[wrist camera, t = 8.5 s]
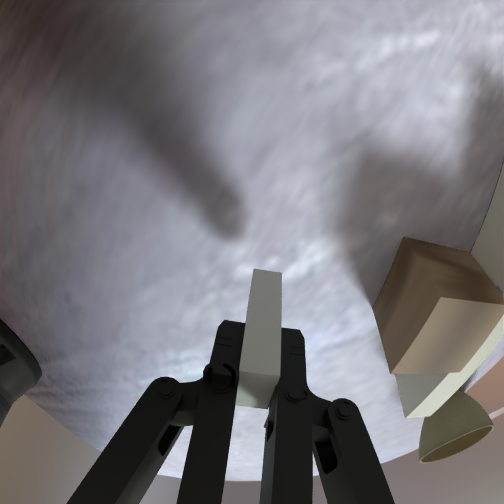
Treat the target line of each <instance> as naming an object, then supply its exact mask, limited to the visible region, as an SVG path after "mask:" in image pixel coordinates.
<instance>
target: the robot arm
mask: <svg viewBox="0 0 504 504" xmlns="http://www.w3.org/2000/svg"><path fill="white" fill-rule="evenodd" d="M281 310H282V273H280V272H273V271H266V270H260V269H254V270H253V276H252V283H251V289H250V295H249V302H248V308H247V315H246V322H245V323H241V322H235V321H228V320H224V321H223V322H222V323H221V324H220V325H219V327H218V330H217V334H216V338H215V342H214V346H213V351H212V355H211V359H210V363H209V364H208V365H206V367H205V369H204V370H203V377H202V378H201V379H199V380H197V381H194V382H186V383H179V382H178V381H177V380H175V379H174V378H170V377H160V378H157V379H155V380H154V381H153V382H152V383H151V384H150V385H149V387H148V388H147V389H146V391H145V392H144V394H143V395H142V396H141V398H140V399H139V401H138V402H137V403H136V405H135V406H134V408H133V409H132V411H131V412H130V413H129V415H128V416H127V418H126V419H125V420H124V422H123V423H122V425H121V426H120V428H119V429H118V430H117V432H116V433H115V435H114V436H113V438H112V439H111V440H110V442H109V443H108V445H107V446H106V448H105V449H104V450H103V452H102V453H101V455H100V456H99V458H98V459H97V461H96V462H95V463H94V465H93V466H92V468H91V469H90V471H89V472H88V473H87V475H86V476H85V478H84V479H83V480H82V482H81V483H80V485H79V486H78V488H77V489H76V491H75V492H74V493H73V495H72V496H71V498H70V499H69V501H68V502H67V504H139V503H140V501H141V500H142V498H143V496H144V494H145V493H146V491H147V489H148V488H149V486H150V485H151V483H152V481H153V480H154V478H155V476H156V475H157V473H158V471H159V469H160V468H161V466H162V464H163V463H164V461H165V459H166V458H167V456H168V454H169V452H170V451H171V449H172V447H173V445H174V444H175V442H176V440H177V439H178V437H179V435H180V433H181V432H182V430H183V428H184V426H191V425H193V430H192V434H191V439H190V443H189V448H188V452H187V457H186V461H185V466H184V471H183V475H182V481H181V485H180V490H179V494H178V499H177V504H221V501H222V494H223V488H224V481H225V474H226V467H227V460H228V453H229V446H230V439H231V432H232V425H233V418H234V411H235V405H238V406H246V407H253V408H262V409H268V407H269V415H268V417H267V420H266V422H265V425H264V428H266V433H265V446H264V458H263V470H262V482H261V493H260V504H312V489H313V479H312V478H313V454H314V458H315V461H316V465H317V468H318V472H319V475H320V478H321V482H322V485H323V489H324V492H325V496H326V499H327V503H328V504H395V503H394V500H393V497H392V495H391V492H390V489H389V486H388V484H387V481H386V478H385V475H384V473H383V470H382V468H381V465H380V462H379V460H378V457H377V454H376V452H375V449H374V447H373V444H372V441H371V439H370V436H369V434H368V431H367V429H366V426H365V424H364V421H363V419H362V416H361V414H360V411H359V409H358V407H357V406H356V404H355V403H353V402H352V401H351V400H348V399H345V398H339V399H336V400H334V401H333V402H331V401H328V400H325V399H322V398H320V397H317V396H316V395H314V394H313V393H312V392H311V391H310V390H309V388H308V386H307V380H306V359H305V341H304V337H303V335H302V333H301V331H300V330H297V329H289V328H281ZM41 376H42V371H41V369H40V366H39V365H38V363H37V361H36V360H35V358H34V357H33V356H32V354H31V353H30V352H29V350H28V349H27V348H26V347H25V346H24V344H23V343H22V342H21V341H20V340H19V339H18V338H17V337H16V336H15V335H14V334H13V332H12V331H11V330H9V329H8V328H7V327H6V326H5V325H4V324H3V323H2V322H1V321H0V427H1V425H2V423H3V421H4V419H5V417H6V415H7V414H8V411H9V410H10V408H11V406H12V404H13V403H14V402H15V401H16V400H17V399H18V398H20V397H21V396H22V395H23V394H24V393H25V392H27V391H28V390H29V389H30V388H31V387H34V386H35V385H36V384H37V382H38V381H39V379H40V377H41Z"/></svg>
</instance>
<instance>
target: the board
mask: <svg viewBox="0 0 504 504" xmlns="http://www.w3.org/2000/svg"><path fill="white" fill-rule="evenodd" d="M470 255H471V256H472V257H473V258H474V259H475V261H476V262H477V263H478V264H479V266H480V267H481V268H482V269H483V270H484V272H485V273H486V274H487V276H488V277H489V278H490V279H491V281H492V282H493V283H494V285H495V286H496V287H497V289H498V290H499V292H500V293H501V294H502V296H503V297H504V163H503V166H502V170H501V173H500V177H499V180H498V183H497V186H496V189H495V193H494V195H493V198H492V201H491V204H490V207H489V210H488V212H487V215H486V217H485V220H484V223H483V225H482V227H481V230H480V232H479V235H478V237H477V239H476V242H475V244H474V246H473V248H472V251H471V253H470ZM503 335H504V315H503V316H502V318H501V319H500V321H499V322H498V324H497V325H496V326H495V328H494V329H493V331H492V332H491V334H490V335H489V336H488V338H487V339H486V340H485V342H484V343H483V344H482V346H481V347H480V348H479V350H478V351H477V352H476V353H475V355H474V356H473V357H472V358H471V360H470V361H469V362H468V363H467V364H466V366H465V367H464V368H463V369H462V370H461V372H456V373H435V374H396V375H395V377H396V381H397V385H398V389H399V393H400V398H401V402H402V407H403V412H404V416H405V419H407V418H418V417H427V416H431V415H432V414H433V413H434V412H435V411H436V410H438V409H439V408H440V407H441V406H442V405H443V404H444V403H445V402H446V401H447V400H448V399H449V398H450V397H451V396H452V395H453V394H454V393H455V392H456V391H457V390H458V389H459V388H460V387H461V386H462V385H463V384H464V382H465V381H466V380H467V379H468V378H469V377H470V376H471V375H472V374H473V372H474V371H475V370H476V369H477V368H478V367H479V366H480V364H481V363H482V362H483V361H484V360H485V358H486V357H487V356H488V355H489V353H490V352H491V351H492V350H493V348H494V347H495V346H496V344H497V343H498V342H499V340H500V339H501V338H502V336H503Z"/></svg>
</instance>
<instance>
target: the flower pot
mask: <svg viewBox="0 0 504 504" xmlns="http://www.w3.org/2000/svg"><path fill="white" fill-rule="evenodd" d="M493 429H494V425H493V423H492V421H491V419H490V417H489V416H488V414H487V413H486V411H485V410H484V409H483V408H482V406H481V405H480V404H479V403H478V402H477V401H476V400H474V399H473V398H472V397H471V396H469V395H468V394H466V393H464V392H463V391H461V390H457V391H456V392H455V393H454V394H453V395H452V396H451V397H450V398H449V399H448V400H447V401H446V402H445V403H444V404H443V405H442V406H441V407H440V408H439V409H438V410H436V411H435V412H434V413H433V414H432V415H431V416H427V417H425V418H424V422H423V426H422V430H421V436H420V443H419V462H420V463H431V462H436V461H439V460H443V459H445V458H448V457H451V456H454V455H456V454H458V453H460V452H462V451H464V450H466V449H468V448H470V447H472V446H474V445H475V444H477V443H478V442H480V441H481V440H482V439H484V438H485V437H486V436H487V435H488V434H490V433H491V432H492V430H493Z"/></svg>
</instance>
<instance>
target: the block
mask: <svg viewBox="0 0 504 504" xmlns="http://www.w3.org/2000/svg"><path fill="white" fill-rule="evenodd" d="M372 309H373V312H374V316H375V319H376V322H377V326H378V329H379V333H380V336H381V340H382V344H383V347H384V351H385V355H386V359H387V363H388V367H389V371H390V374H435V373H456V372H461V370H462V369H463V368H464V367H465V366H466V364H467V363H468V362H469V361H470V360H471V358H472V357H473V356H474V355H475V353H476V352H477V351H478V350H479V348H480V347H481V346H482V344H483V343H484V342H485V340H486V339H487V338H488V336H489V335H490V334H491V332H492V331H493V329H494V328H495V326H496V325H497V324H498V322H499V321H500V319H501V318H502V316H503V315H504V297H503V296H502V294H501V293H500V292H499V290H498V289H497V287H496V286H495V285H494V283H493V282H492V281H491V279H490V278H489V277H488V276H487V274H486V273H485V272H484V270H483V269H482V268H481V267H480V266H479V264H478V263H477V262H476V261H475V259H474V258H473V257H472V256H471V255H470V253H469V252H465V251H461V250H457V249H453V248H449V247H445V246H441V245H437V244H432V243H428V242H424V241H419V240H415V239H410V238H406V237H403V239H402V242H401V245H400V247H399V250H398V252H397V255H396V257H395V259H394V262H393V264H392V267H391V269H390V271H389V274H388V276H387V278H386V280H385V283H384V285H383V287H382V289H381V291H380V294H379V296H378V298H377V300H376V302H375V304H374V306H373V308H372Z"/></svg>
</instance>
